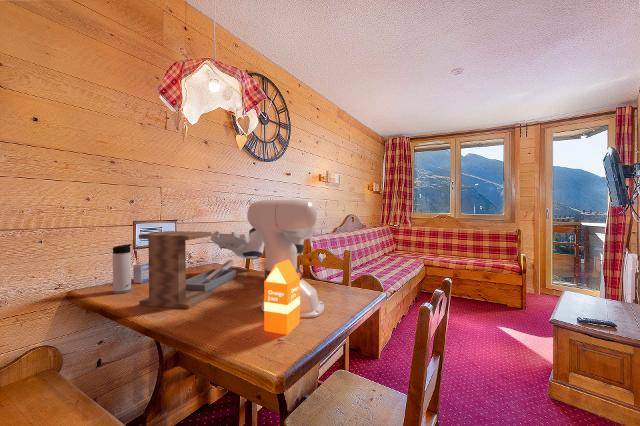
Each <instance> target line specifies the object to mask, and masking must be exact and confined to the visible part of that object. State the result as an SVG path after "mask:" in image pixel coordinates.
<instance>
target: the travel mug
mask: <svg viewBox="0 0 640 426" xmlns="http://www.w3.org/2000/svg"><path fill="white" fill-rule="evenodd" d="M132 245H133V244H132V243H128V244H121V245H117V246H116V245H115V246H114V247H112V293H113V294H117V295H118V294H119V295H121V294H125V293H129V292H131V291H132V262H131V261H132V259H131V258H132V257H131V256H132V255H131V254H132V251H131V247H132Z"/></svg>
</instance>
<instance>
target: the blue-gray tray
mask: <svg viewBox="0 0 640 426" xmlns="http://www.w3.org/2000/svg"><path fill="white" fill-rule="evenodd" d="M217 269H218V268H212V269H210V270H208V271H205V272H202V273H200V274H198V275H197V274H196V275H195V276H192V277H190V278H187V279H186V290H189V291H206V292H213V291H214V290H216V289H218V288H219V287H221V286H223V285H225V284H226V283H228V282H230V281H232V280H234V279H236V278H237V270H236V269H227V270H226V271H225V272H224V273H222V274H221V275H220V276H219V277H218V278H216V279H215V280H213V281H211V282H209V283H205V278H206V277H207V276H209V275H210V274H211V273H213V272H214V271H215V270H217Z"/></svg>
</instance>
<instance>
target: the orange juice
mask: <svg viewBox="0 0 640 426" xmlns="http://www.w3.org/2000/svg"><path fill="white" fill-rule="evenodd" d="M263 282H264V283H263V285H264V295H263V300H264V312H263V313H264V316H263V317H264V318H263V319H264V322H263V323H264V325H263V326H264V328H263V329H264V330H263V331H265V332H270V333H274V334H281V335H289V334H290V333H291V332H292V331H293V330H294V329H295V328H296V327H297V326H299V324H300V319H301V317H300V277H299V276H298V274H297V272H296V271H295V269H294V267H293V266H292V264H291V262H290V261H289V259H288V260H285V261H283V262H280V263H278V264H276V265H275V266H274V268H273V269H272V271H271V272H270V274H269V276H268V277H267V279H266V280H264V281H263Z"/></svg>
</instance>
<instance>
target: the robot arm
mask: <svg viewBox="0 0 640 426" xmlns="http://www.w3.org/2000/svg"><path fill="white" fill-rule="evenodd" d="M246 217H247V222H248V224H249V225H250V226H251V227H252V228H251V229H250V230H249V231H248V232H249V233H248V235H247V234H245V233H244V234H243V233H237V232H236V231H231V233H222V232H221V233H220V232H219V231H218V230H217V231H216V230H215V231H214V232H213V233H212V236H210V240H211V241H212V243H214V244H215V245H217V246H218V248H220V249H225V250H228V251H231V252H232V253H234V254H235V255H236V256H238V257H240V258H242V259H247V260H257V259H260V258H262V256H263V255H264V251H265V269H264V275H263V277H264V281H265V280H266V279H267V277H268V276H269V274H270V272H271V271H272V269H273V268H274V266H275V265H276V264H278V263H280V262H283V261H285V260H288V259H289V261H290V262H291V264H292V266H293V267H294V269H295V271H296V272H297V274H298V276H299V277H300V318H317V317H318V316H320V315H322V314H323V312H324V310H325V304H324V302H323V301H322V300H319V298H318V297H319V296H318V292H317V289H316V288H315V287H313V285H311V284H309V283H308V282H307V281H305V280H304V279H303V273H304V270H303V269H301V270H300V269H299V268H298V256H300V255H302V254H303V253H304V249H305V245H304V242H305V240H309V239H310V238H312V237H313V236H314V235H315V232H316V222H317V220H318V212H317V208H316V207H315V205H314V204H313V203H312V202H310V201H307V200H306V201H305V200H301V199H261V200H258V201H257V200H256V201H255V202H254V201H253V202H252V203H251V204H250V205H249V207H248V209H247V212H246ZM261 304H262V305H261V311H263V313H264V299H263V300H262V303H261Z"/></svg>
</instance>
